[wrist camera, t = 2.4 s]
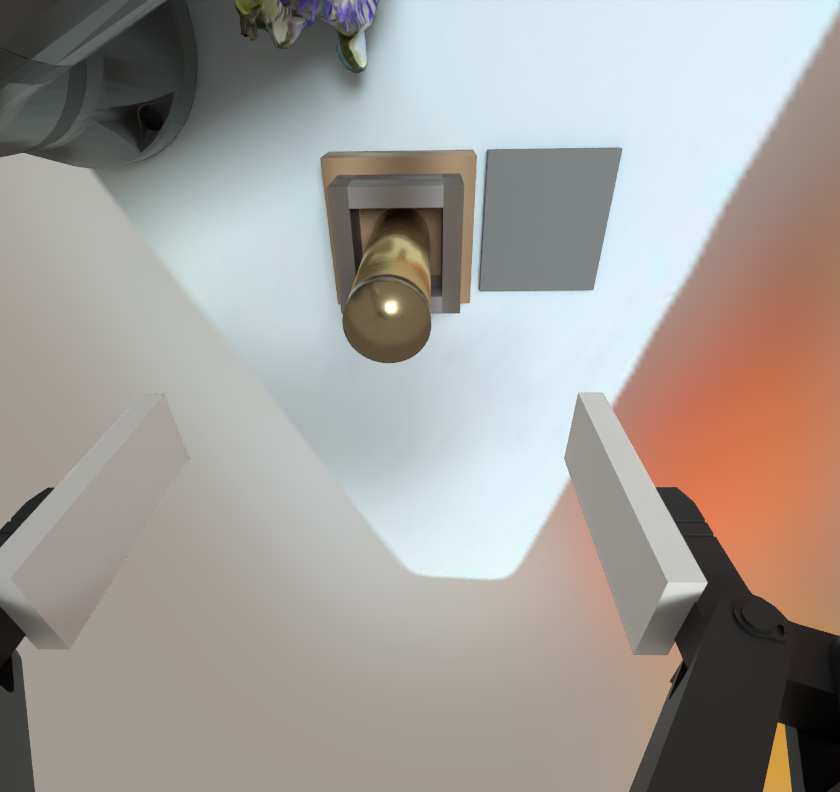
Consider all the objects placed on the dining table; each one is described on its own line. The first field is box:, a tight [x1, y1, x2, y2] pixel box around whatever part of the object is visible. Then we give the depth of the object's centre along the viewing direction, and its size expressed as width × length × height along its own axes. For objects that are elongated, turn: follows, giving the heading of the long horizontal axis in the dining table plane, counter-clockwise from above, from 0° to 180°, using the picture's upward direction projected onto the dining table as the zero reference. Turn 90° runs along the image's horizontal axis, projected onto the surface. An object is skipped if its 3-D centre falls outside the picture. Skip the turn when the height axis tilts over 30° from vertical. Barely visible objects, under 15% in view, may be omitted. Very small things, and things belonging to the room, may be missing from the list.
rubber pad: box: [479, 148, 622, 291], centre depth 35 cm, size 9×10×1 cm
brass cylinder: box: [343, 208, 431, 363], centre depth 27 cm, size 4×4×14 cm
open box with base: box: [320, 150, 477, 314], centre depth 32 cm, size 10×10×7 cm
